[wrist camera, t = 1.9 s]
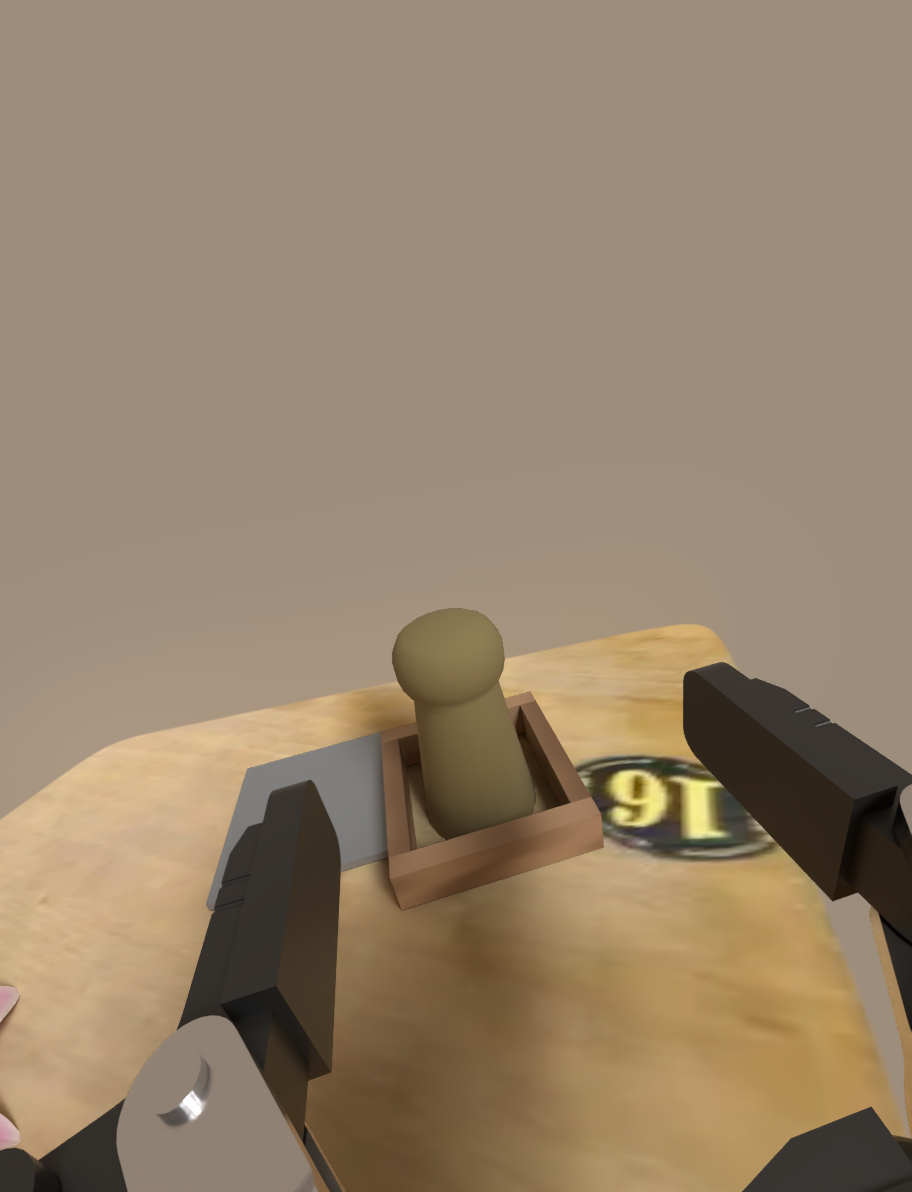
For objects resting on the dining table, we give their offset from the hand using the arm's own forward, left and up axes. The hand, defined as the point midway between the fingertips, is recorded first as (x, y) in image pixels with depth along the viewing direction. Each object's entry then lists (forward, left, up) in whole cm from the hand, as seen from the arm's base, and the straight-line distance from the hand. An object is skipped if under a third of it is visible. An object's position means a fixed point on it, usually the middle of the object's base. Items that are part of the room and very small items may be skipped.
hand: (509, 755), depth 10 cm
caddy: (0, +11, -13) cm, 18 cm away
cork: (0, +11, -14) cm, 18 cm away
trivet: (-10, +14, -13) cm, 22 cm away
